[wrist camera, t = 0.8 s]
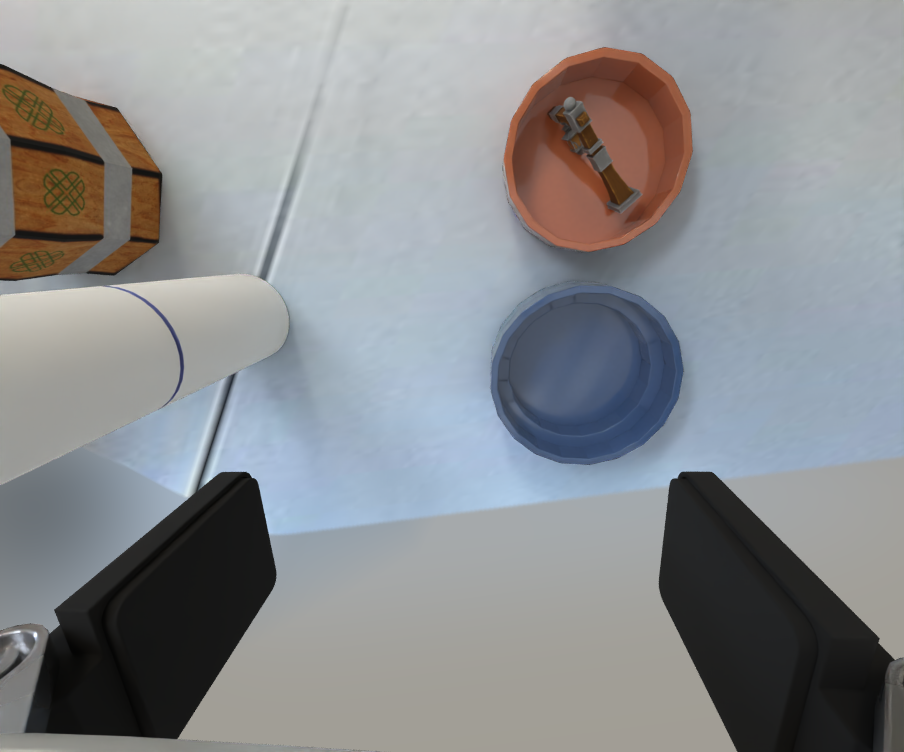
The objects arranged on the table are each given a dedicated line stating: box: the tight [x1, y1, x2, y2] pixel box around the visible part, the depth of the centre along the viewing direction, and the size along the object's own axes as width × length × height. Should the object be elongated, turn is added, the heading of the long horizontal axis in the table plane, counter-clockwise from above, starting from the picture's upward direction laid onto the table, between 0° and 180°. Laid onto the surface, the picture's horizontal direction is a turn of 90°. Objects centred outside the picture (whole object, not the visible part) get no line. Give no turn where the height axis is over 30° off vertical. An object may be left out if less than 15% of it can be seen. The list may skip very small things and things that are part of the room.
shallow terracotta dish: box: [502, 47, 693, 252], centre depth 28 cm, size 11×11×3 cm
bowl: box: [490, 281, 683, 465], centre depth 31 cm, size 13×13×4 cm
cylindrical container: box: [0, 274, 289, 485], centre depth 23 cm, size 7×7×25 cm
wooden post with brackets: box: [547, 97, 643, 214], centre depth 28 cm, size 2×8×4 cm, turn 43°
